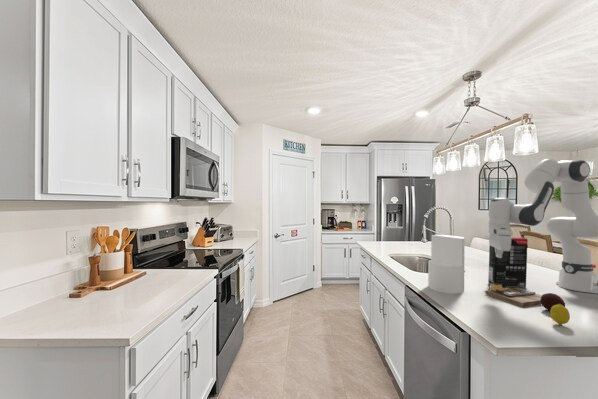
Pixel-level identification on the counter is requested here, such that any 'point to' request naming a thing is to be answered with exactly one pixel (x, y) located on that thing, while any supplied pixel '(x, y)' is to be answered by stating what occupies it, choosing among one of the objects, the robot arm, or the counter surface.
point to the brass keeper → (497, 287)
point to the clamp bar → (519, 293)
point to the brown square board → (516, 297)
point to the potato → (551, 300)
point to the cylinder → (446, 264)
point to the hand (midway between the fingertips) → (498, 257)
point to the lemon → (560, 314)
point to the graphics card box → (509, 264)
